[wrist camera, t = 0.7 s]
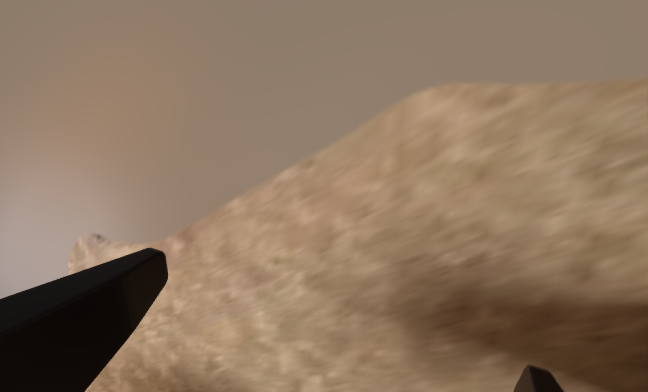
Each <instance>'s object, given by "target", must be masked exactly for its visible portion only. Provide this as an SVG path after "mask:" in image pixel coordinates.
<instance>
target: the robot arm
mask: <svg viewBox="0 0 648 392" xmlns="http://www.w3.org/2000/svg"><path fill="white" fill-rule="evenodd" d="M167 280H168V269H167V262H166V256H165V254H164V252H163V251H160V250H157V249H154V248H146V249H143V250H141V251H138V252H135V253H132V254H129V255H126V256H123V257H120V258H117V259H115V260H112V261H109V262H106V263H103V264H100V265H97V266H94V267H91V268H89V269H86V270H83V271H80V272H77V273H74V274H71V275H68V276H65V277H63V278H60V279H57V280H54V281H51V282H48V283H45V284H42V285H39V286H37V287H34V288H31V289H28V290H25V291H22V292H19V293H16V294H13V295H10V296H8V297H5V298H2V299H0V392H85V390H86V389H87V388H88V387H89V386H90V384H91V383H92V382H93V381H94V379H95V378H96V377H97V376H98V375H99V373H100V372H101V371H102V370H103V369H104V367H105V366H106V365H107V364H108V362H109V361H110V360H111V359H112V358H113V356H114V355H115V354H116V353H117V351H118V350H119V349H120V348H121V347H122V345H123V344H124V343H125V342H126V341H127V339H128V338H129V337H130V335H131V334H132V333H133V332H134V330H135V329H136V327H137V326H138V325H139V323H140V322H141V320H142V319H143V317H144V316H145V314H146V313H147V311H148V310H149V308H150V307H151V305H152V304H153V302H154V301H155V299H156V298H157V296H158V295H159V293H160V292H161V290H162V289H163V287H164V286H165V284H166V282H167ZM514 392H564V391H563V390H562V388H561V387H560V385H559V384H558V382H557V381H556V379H555V378H554V376H553V375H552V374H551V373H550V372H549V371H548V370H546V369H543V368H540V367H536V366H533V365H528V366H526V367H525V369H524V371H523V373H522V375H521V377H520V379H519V380H518V382H517V384H516V386H515V388H514Z"/></svg>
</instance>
